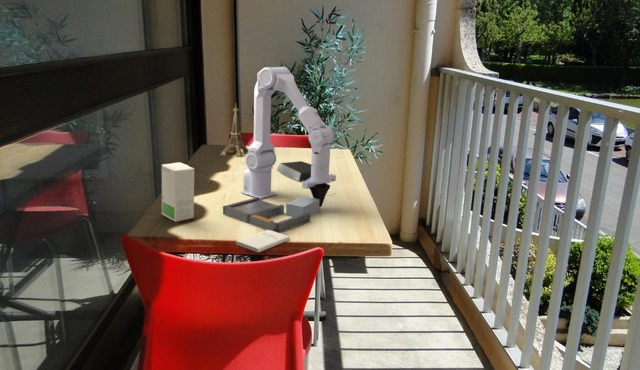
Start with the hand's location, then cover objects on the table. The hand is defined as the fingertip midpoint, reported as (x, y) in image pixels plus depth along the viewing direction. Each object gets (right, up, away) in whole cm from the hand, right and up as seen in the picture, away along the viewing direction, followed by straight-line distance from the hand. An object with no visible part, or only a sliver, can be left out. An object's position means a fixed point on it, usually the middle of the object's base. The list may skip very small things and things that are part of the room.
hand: (318, 206), depth 173 cm
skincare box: (-42, -3, -13) cm, 44 cm away
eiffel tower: (-38, +21, +73) cm, 85 cm away
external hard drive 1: (-15, -9, -29) cm, 34 cm away
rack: (-15, -3, -10) cm, 18 cm away
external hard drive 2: (-8, +10, +42) cm, 44 cm away
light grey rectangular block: (-5, -2, -4) cm, 7 cm away
